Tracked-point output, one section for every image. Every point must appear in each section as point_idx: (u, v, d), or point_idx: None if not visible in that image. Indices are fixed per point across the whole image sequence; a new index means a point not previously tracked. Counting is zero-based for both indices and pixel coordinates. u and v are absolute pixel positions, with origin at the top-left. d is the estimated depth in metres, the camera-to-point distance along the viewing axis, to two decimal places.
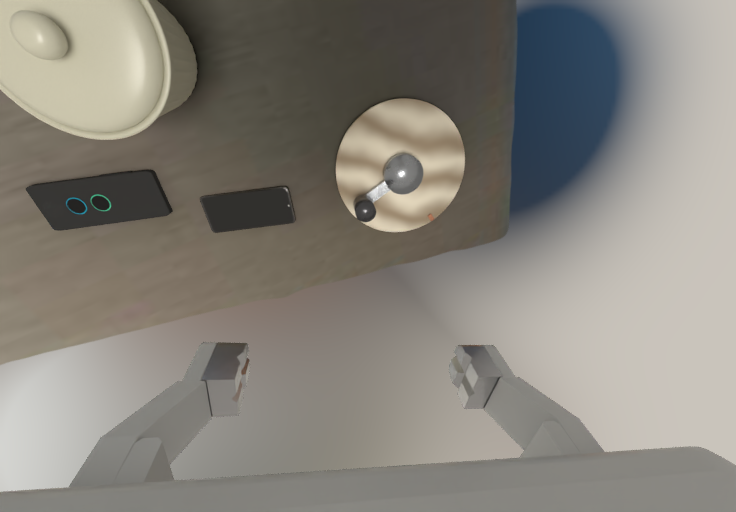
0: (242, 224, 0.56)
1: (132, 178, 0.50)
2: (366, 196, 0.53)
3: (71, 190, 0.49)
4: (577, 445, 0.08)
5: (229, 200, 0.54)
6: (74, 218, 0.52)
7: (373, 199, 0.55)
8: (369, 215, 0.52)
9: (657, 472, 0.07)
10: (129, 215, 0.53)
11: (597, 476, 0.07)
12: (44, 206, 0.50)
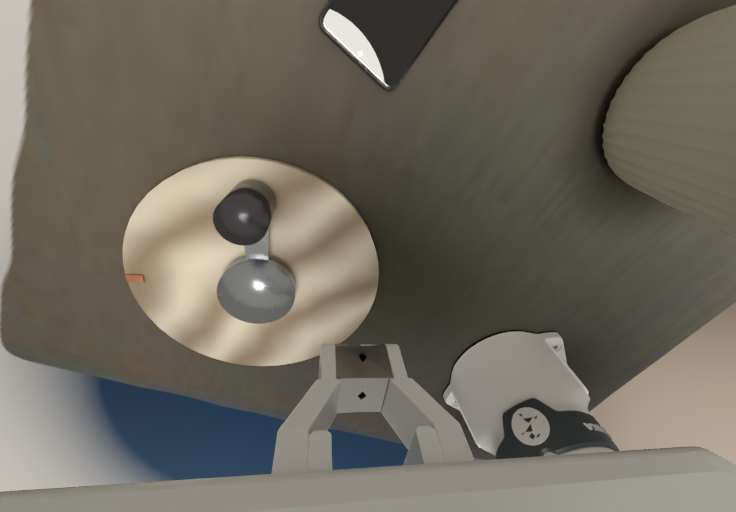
0: None
1: None
2: None
3: None
4: (445, 453, 0.08)
5: None
6: None
7: None
8: (229, 223, 0.20)
9: (657, 472, 0.07)
10: None
11: (597, 476, 0.07)
12: None
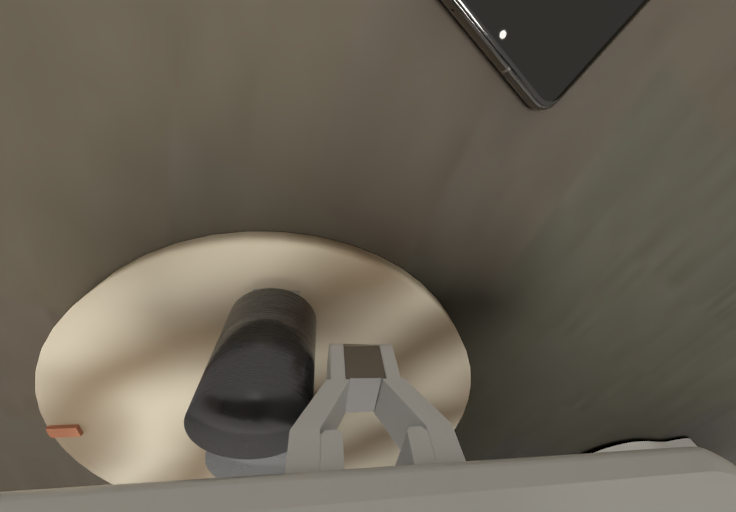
0: None
1: None
2: None
3: None
4: (436, 453, 0.08)
5: None
6: None
7: None
8: (224, 430, 0.09)
9: (657, 472, 0.07)
10: None
11: (597, 476, 0.07)
12: None
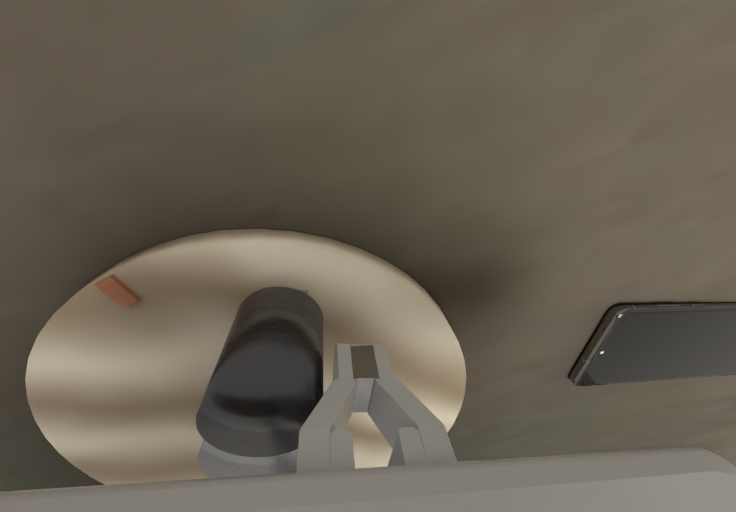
0: (734, 319, 0.20)
1: None
2: None
3: None
4: (427, 454, 0.08)
5: (700, 368, 0.23)
6: None
7: None
8: (234, 426, 0.09)
9: (657, 472, 0.07)
10: None
11: (597, 476, 0.07)
12: None
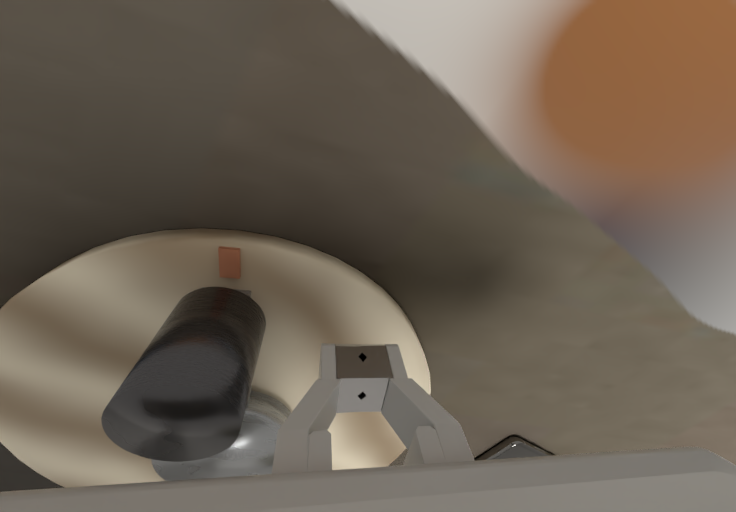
0: None
1: None
2: None
3: None
4: (445, 453, 0.08)
5: None
6: None
7: None
8: (146, 431, 0.09)
9: (657, 472, 0.07)
10: None
11: (597, 476, 0.07)
12: None
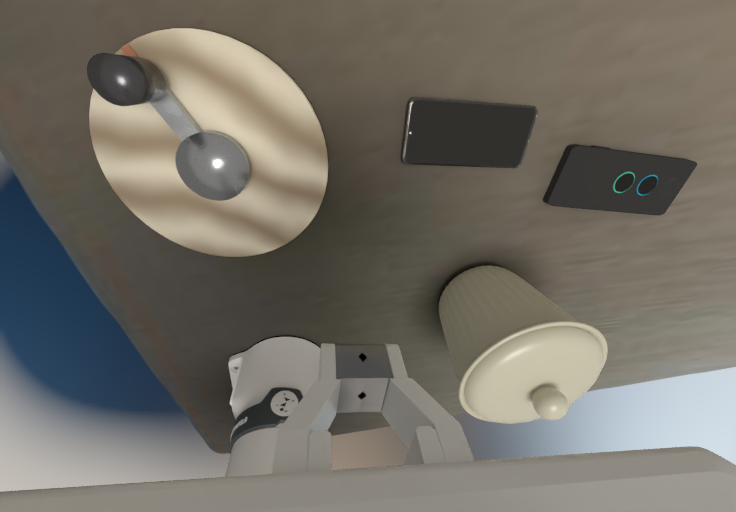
0: (491, 113, 0.35)
1: (569, 201, 0.41)
2: (160, 90, 0.27)
3: (632, 203, 0.43)
4: (445, 453, 0.08)
5: (486, 157, 0.37)
6: (665, 171, 0.41)
7: (157, 105, 0.28)
8: (109, 88, 0.24)
9: (657, 472, 0.07)
10: (614, 158, 0.39)
11: (597, 476, 0.07)
12: (672, 192, 0.43)
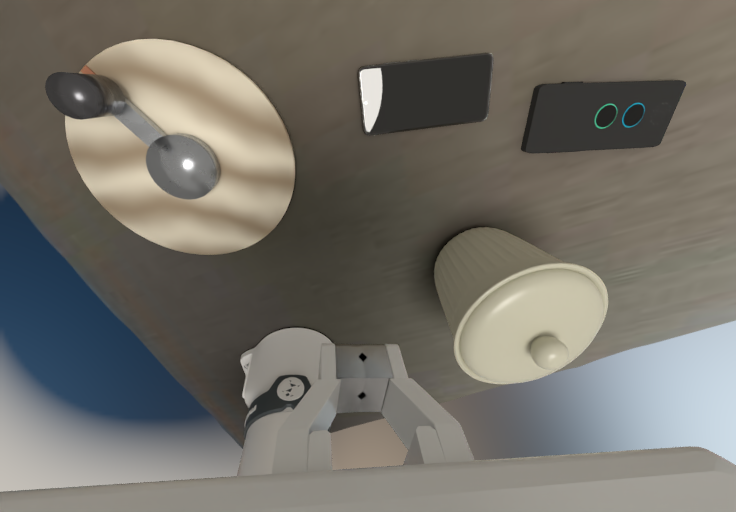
0: (444, 68, 0.34)
1: (549, 145, 0.39)
2: (119, 101, 0.29)
3: (620, 137, 0.40)
4: (445, 453, 0.08)
5: (449, 114, 0.37)
6: (650, 97, 0.38)
7: (121, 117, 0.31)
8: (68, 104, 0.26)
9: (657, 472, 0.07)
10: (589, 91, 0.37)
11: (597, 476, 0.07)
12: (664, 119, 0.40)
